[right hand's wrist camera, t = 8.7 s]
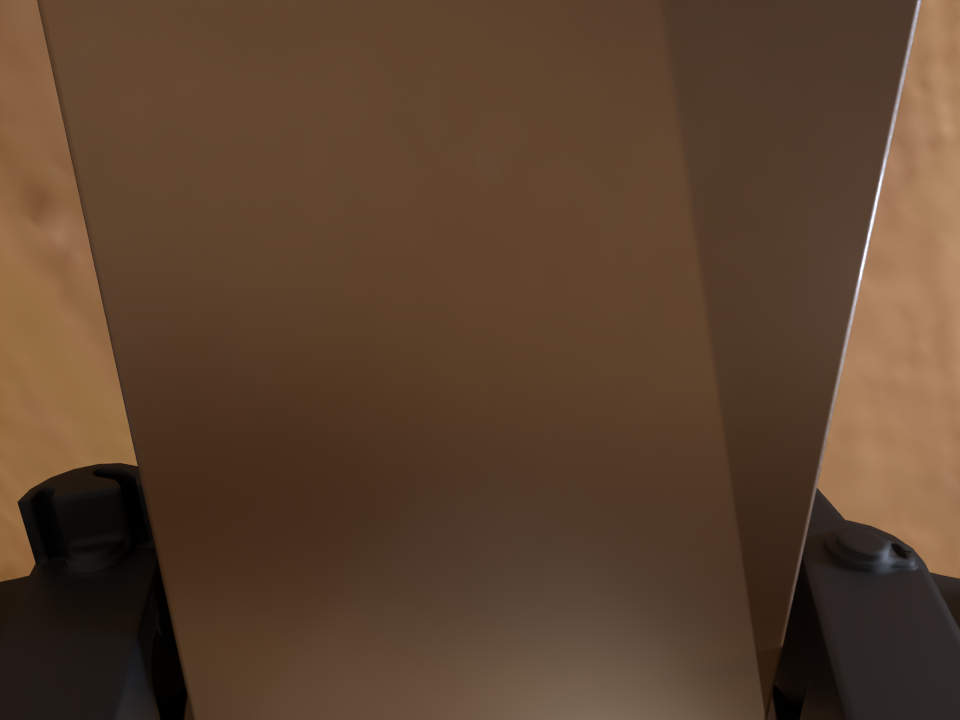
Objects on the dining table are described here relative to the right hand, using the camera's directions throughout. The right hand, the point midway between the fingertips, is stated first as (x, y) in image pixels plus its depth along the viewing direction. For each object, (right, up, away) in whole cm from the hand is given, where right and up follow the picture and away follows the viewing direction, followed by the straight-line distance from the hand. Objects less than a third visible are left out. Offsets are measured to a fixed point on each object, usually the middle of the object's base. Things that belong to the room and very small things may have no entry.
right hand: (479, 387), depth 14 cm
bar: (0, +19, -7) cm, 21 cm away
